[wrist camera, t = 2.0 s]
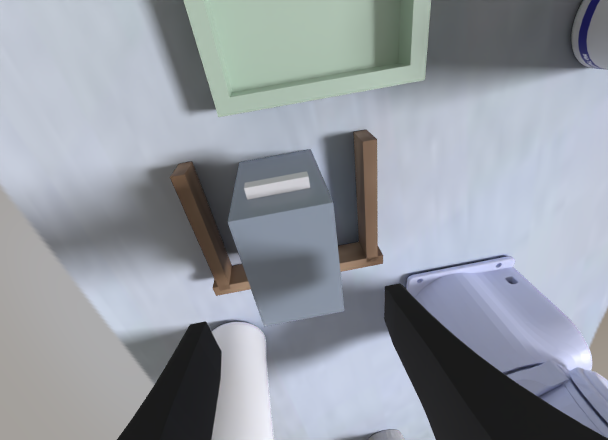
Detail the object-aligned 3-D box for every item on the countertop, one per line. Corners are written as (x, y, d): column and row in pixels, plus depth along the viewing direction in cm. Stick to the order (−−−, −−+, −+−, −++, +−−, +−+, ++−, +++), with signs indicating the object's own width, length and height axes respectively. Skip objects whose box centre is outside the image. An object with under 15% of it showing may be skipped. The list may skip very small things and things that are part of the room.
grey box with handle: (309, 139, 18) (331, 189, 12) (322, 237, 22) (344, 311, 16) (236, 152, 17) (223, 210, 12) (264, 248, 22) (264, 326, 16)
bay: (372, 128, 18) (384, 137, 16) (374, 246, 23) (382, 263, 21) (172, 164, 17) (162, 178, 16) (219, 276, 22) (216, 295, 21)
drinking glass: (182, 334, 26) (103, 622, 13) (243, 301, 24) (222, 585, 12) (231, 367, 29) (206, 618, 16) (287, 339, 28) (307, 590, 15)
